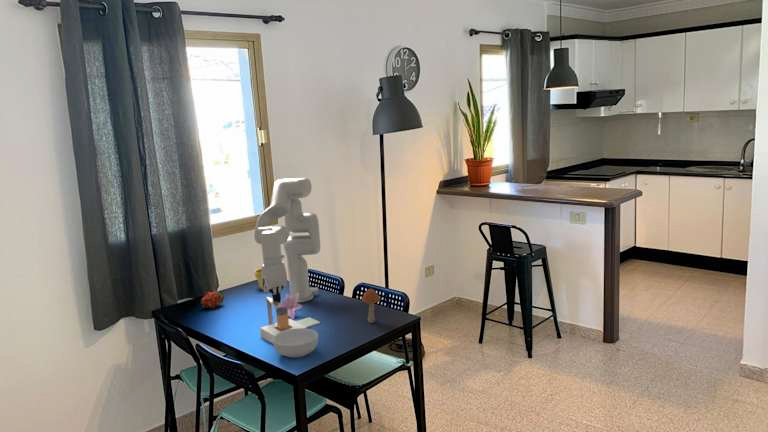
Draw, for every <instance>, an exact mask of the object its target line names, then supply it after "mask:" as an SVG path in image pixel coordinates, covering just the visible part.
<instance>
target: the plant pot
mask: <svg viewBox="0 0 768 432" xmlns="http://www.w3.org/2000/svg"><path fill="white" fill-rule="evenodd" d="M254 275H255V278H256V280H257V283H258V286H259V289H260V290H264V287H262V283H261V268H257V269H256V270H255V271H254Z"/></svg>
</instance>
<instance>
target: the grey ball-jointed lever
mask: <svg viewBox="0 0 768 432" xmlns="http://www.w3.org/2000/svg"><path fill="white" fill-rule="evenodd" d="M264 299H265V301H266V302H267V301H268V302H269V303H270V304H271V306H272V308H274V309H277V308H279V303H278V301H276V302H275V301H274V300H273V297H272V295H268V296H265V297H264Z"/></svg>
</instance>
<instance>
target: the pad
mask: <svg viewBox="0 0 768 432" xmlns="http://www.w3.org/2000/svg"><path fill="white" fill-rule="evenodd" d="M295 321H296V322H298V323H300V324H302V325H304V326H306V327H307V329H309V328H310V327H311V328H312V327H313V326H316V325H320V324H321V321H319V320H316V319H314V318H312V317H310V316H309V317H305V318H303V319H299V320H295Z"/></svg>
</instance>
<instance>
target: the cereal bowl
mask: <svg viewBox="0 0 768 432" xmlns="http://www.w3.org/2000/svg"><path fill="white" fill-rule="evenodd" d="M318 343H319V334H318V332H317V331H316V330H314V329H310V328H307V329H305V328H297V329H290V330H286V331H283V332H280V333H278V334H277V335H275V336H274V338H273V348H274V350H275V351H276V352H277V353H278V354H280V355H282V356H284V357H287V358H291V359H293V358H294V359H298V358H302V357H304V356H306V355H308V354H310V353H312V352H313V351H315V349H316V347H317V345H318Z"/></svg>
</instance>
